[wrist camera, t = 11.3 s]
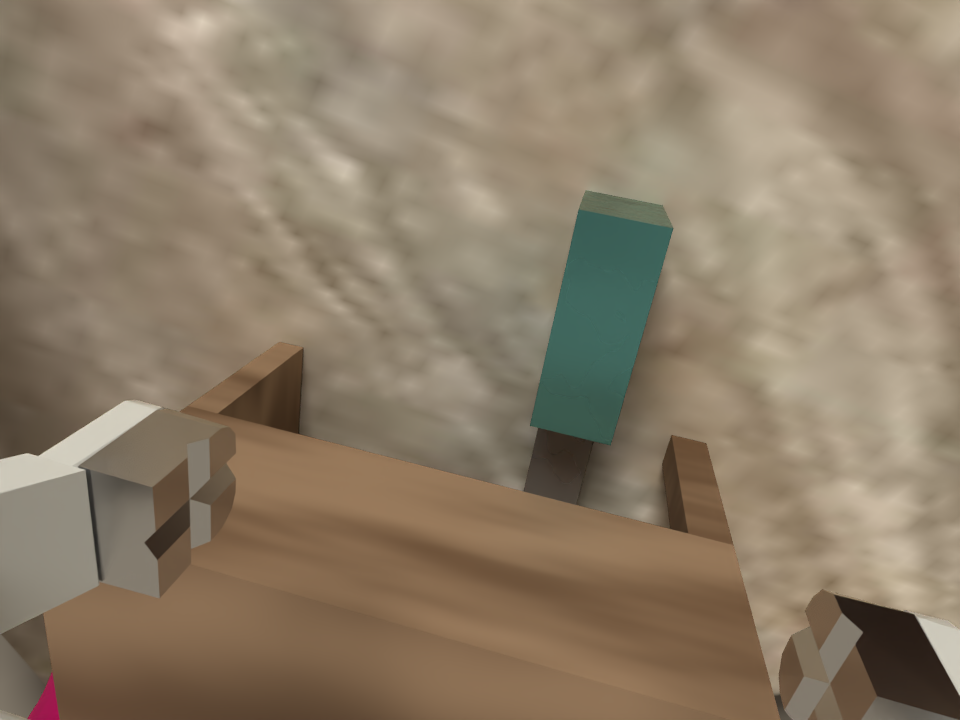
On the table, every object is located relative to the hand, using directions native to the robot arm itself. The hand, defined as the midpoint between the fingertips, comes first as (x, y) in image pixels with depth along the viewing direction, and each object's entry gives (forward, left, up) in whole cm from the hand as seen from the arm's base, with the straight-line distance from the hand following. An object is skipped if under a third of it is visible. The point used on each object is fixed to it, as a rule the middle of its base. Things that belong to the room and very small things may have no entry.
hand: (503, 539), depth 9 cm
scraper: (+7, +1, -19) cm, 20 cm away
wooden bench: (+12, -3, -19) cm, 22 cm away
